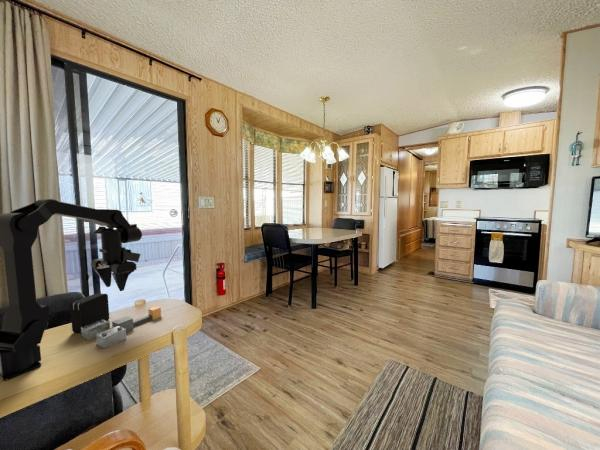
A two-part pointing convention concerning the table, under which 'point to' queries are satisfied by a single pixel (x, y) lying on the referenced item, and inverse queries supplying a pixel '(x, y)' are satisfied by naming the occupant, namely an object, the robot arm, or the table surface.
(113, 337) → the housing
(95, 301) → the electronic device
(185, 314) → the table surface
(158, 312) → the orange and grey dumbbell
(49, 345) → the table surface
